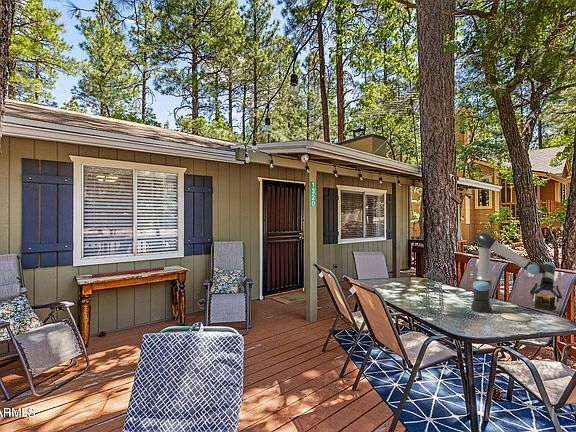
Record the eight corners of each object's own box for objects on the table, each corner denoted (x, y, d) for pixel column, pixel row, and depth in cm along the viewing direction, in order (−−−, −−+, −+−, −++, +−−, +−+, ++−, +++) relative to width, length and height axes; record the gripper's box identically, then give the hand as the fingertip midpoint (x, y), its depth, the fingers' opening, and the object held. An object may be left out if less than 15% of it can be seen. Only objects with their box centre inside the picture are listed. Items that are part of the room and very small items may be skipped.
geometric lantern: (425, 314, 261) (423, 270, 263) (424, 309, 276) (423, 267, 277) (446, 315, 256) (445, 270, 257) (444, 310, 271) (443, 268, 272)
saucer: (495, 316, 253) (495, 315, 253) (508, 313, 262) (508, 312, 262) (521, 323, 237) (521, 321, 237) (534, 319, 246) (534, 318, 246)
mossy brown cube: (549, 311, 235) (550, 297, 235) (533, 308, 244) (534, 294, 244) (556, 309, 240) (556, 296, 240) (540, 306, 249) (540, 293, 249)
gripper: (568, 285, 244) (566, 309, 233) (528, 280, 261) (525, 303, 250) (567, 279, 241) (565, 303, 230) (527, 274, 257) (524, 297, 246)
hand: (544, 303), depth 240 cm, fingers closed on mossy brown cube, 12 cm apart
